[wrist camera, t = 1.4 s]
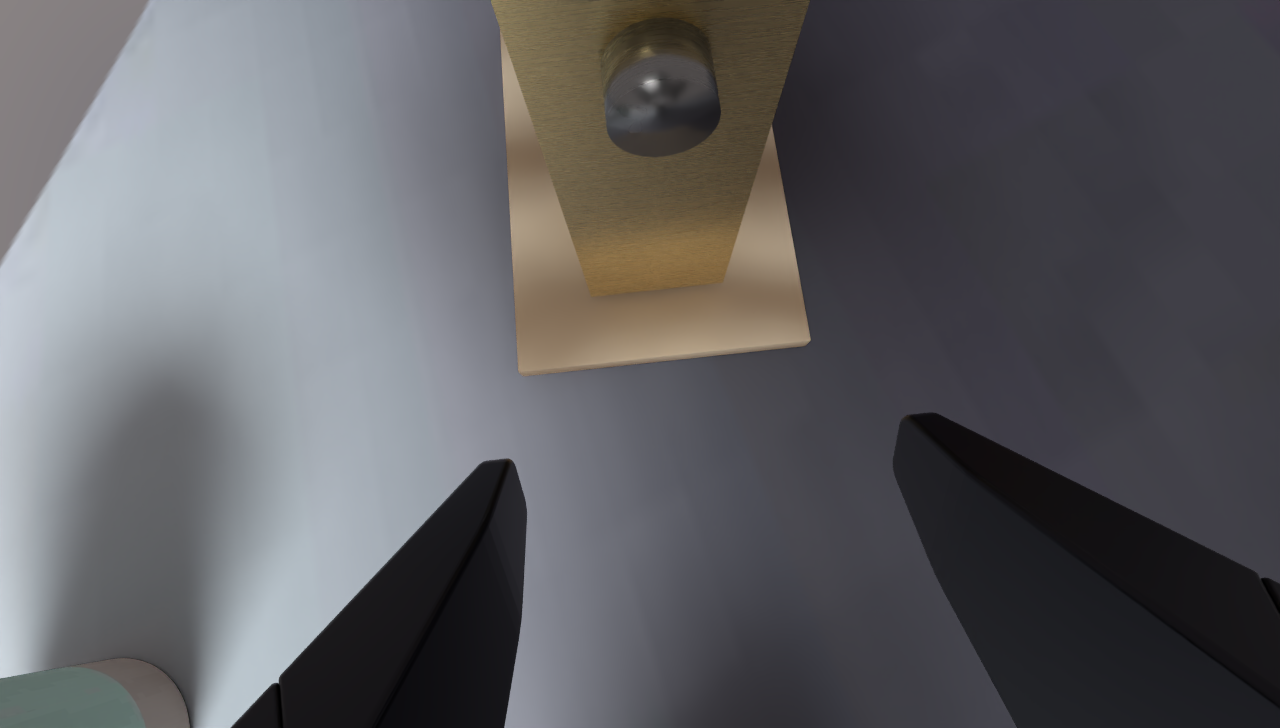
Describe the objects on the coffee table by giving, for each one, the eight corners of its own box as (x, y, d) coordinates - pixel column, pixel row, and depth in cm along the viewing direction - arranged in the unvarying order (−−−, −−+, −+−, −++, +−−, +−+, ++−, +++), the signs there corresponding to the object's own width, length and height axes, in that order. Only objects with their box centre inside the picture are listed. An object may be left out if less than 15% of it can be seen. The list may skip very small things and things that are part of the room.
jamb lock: (805, 345, 22) (906, 244, 13) (523, 376, 22) (431, 296, 13) (743, -2, 25) (788, -265, 17) (504, 25, 25) (422, -223, 17)
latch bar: (727, 312, 21) (862, -39, 7) (593, 327, 21) (470, 6, 7) (705, 165, 22) (782, -364, 8) (580, 179, 22) (456, -327, 8)
